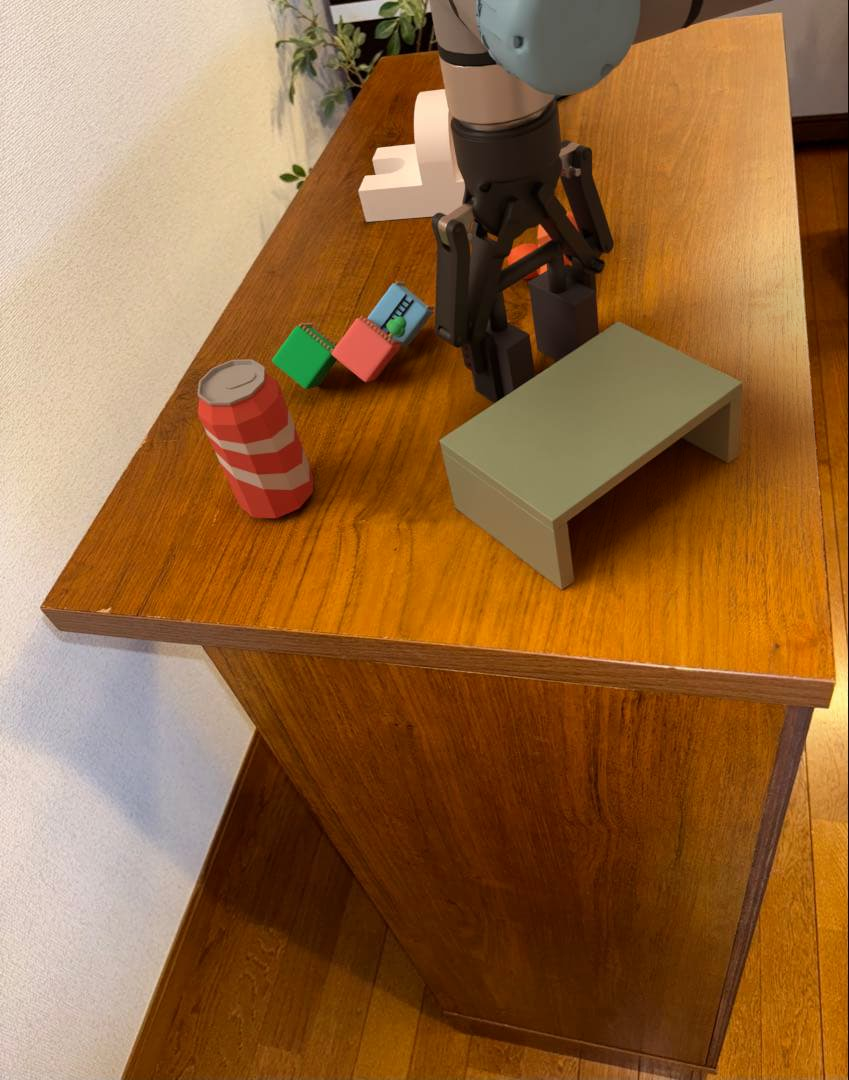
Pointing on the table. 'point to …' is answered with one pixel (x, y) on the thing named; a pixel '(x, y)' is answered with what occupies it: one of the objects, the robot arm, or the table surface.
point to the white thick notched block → (416, 169)
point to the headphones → (541, 315)
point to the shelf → (583, 439)
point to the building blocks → (355, 340)
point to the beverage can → (254, 438)
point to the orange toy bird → (527, 248)
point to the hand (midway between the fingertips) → (536, 365)
